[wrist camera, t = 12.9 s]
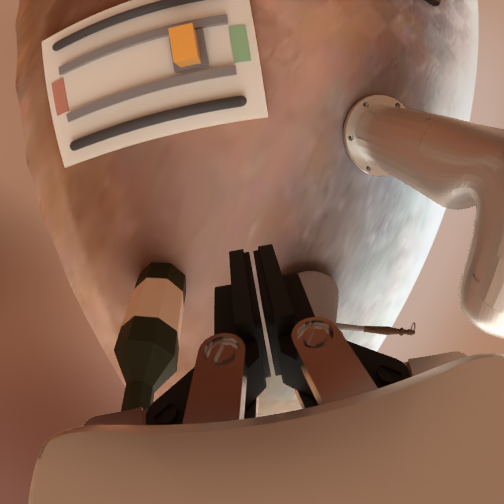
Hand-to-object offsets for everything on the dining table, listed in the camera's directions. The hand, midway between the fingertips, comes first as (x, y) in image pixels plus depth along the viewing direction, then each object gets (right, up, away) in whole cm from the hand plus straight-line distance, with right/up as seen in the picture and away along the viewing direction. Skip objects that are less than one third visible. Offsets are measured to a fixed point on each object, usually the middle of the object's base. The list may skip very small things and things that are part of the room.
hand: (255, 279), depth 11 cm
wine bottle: (-15, -4, +35) cm, 38 cm away
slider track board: (-14, +25, +18) cm, 34 cm away
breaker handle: (-7, +24, +15) cm, 30 cm away
